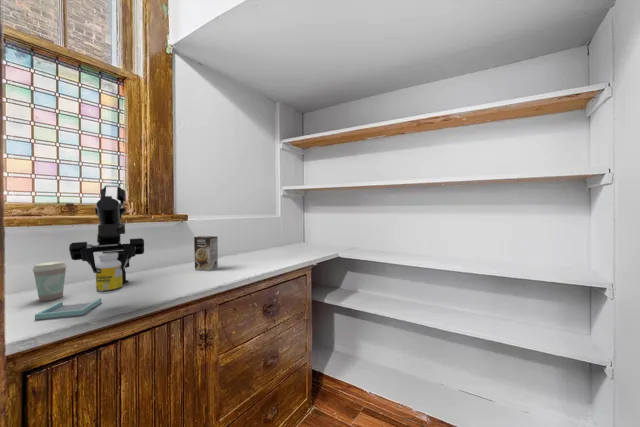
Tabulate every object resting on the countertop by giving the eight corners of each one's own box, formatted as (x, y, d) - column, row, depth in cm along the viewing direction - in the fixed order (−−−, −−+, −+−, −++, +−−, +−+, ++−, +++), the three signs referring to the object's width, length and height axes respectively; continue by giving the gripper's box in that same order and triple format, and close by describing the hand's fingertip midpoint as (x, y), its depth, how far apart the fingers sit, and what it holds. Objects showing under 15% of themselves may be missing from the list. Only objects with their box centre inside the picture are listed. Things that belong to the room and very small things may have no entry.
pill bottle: (91, 293, 85) (89, 254, 84) (114, 287, 91) (112, 251, 90) (105, 295, 82) (103, 256, 82) (127, 289, 88) (126, 252, 88)
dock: (59, 306, 87) (59, 301, 87) (101, 302, 90) (101, 298, 90) (34, 320, 77) (34, 314, 77) (82, 315, 80) (82, 310, 80)
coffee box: (194, 270, 136) (193, 237, 136) (203, 267, 142) (202, 235, 142) (210, 271, 133) (209, 237, 133) (218, 268, 140) (217, 235, 139)
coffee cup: (38, 304, 90) (36, 266, 90) (30, 299, 95) (28, 264, 95) (72, 296, 98) (70, 262, 97) (63, 292, 102) (61, 259, 102)
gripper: (68, 215, 84) (63, 258, 75) (143, 214, 94) (145, 251, 85) (74, 239, 91) (69, 281, 82) (142, 235, 101) (145, 272, 92)
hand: (108, 270), depth 85 cm, fingers closed on pill bottle, 6 cm apart
